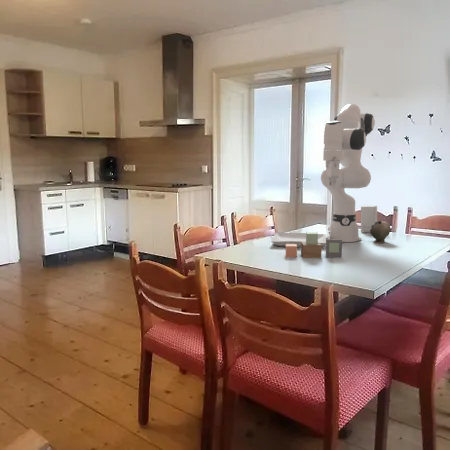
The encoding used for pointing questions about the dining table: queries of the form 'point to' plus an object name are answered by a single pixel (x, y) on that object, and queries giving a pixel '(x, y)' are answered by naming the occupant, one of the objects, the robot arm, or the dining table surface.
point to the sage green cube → (312, 238)
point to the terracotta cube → (291, 250)
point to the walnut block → (311, 250)
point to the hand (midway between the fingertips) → (332, 186)
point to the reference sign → (333, 248)
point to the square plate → (294, 239)
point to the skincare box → (368, 217)
